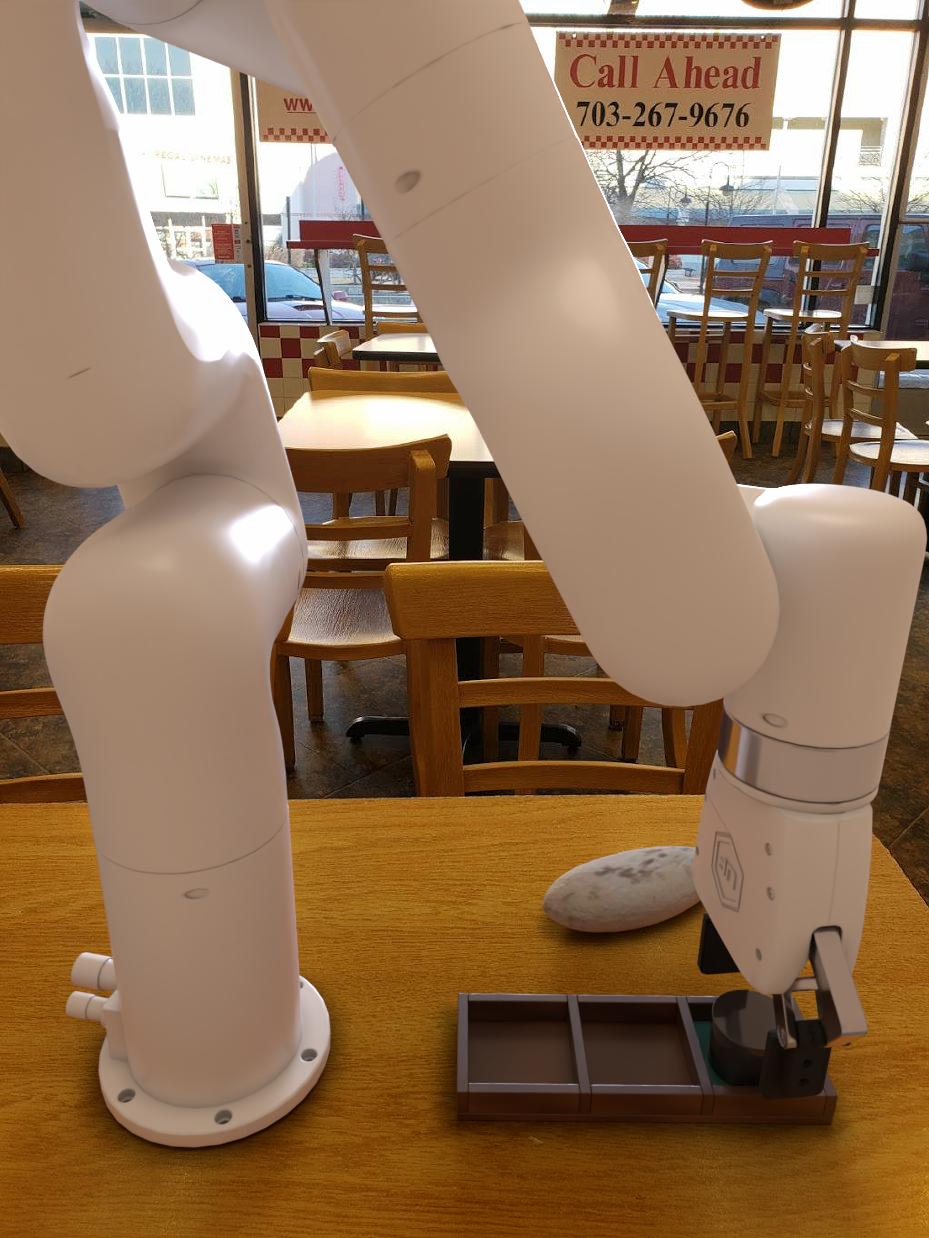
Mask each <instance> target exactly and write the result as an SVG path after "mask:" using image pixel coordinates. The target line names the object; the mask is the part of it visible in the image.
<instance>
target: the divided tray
mask: <svg viewBox="0 0 929 1238" xmlns="http://www.w3.org/2000/svg"><path fill="white" fill-rule="evenodd" d="M719 996H720V995H719ZM719 996H718V995H716V996H715V995H714V996H713V995H702V996H701V995H686V996H685V995H633V994H632V995H628V994H627V995H624V994H549V993H548V994H547V993H546V994H543V993H541V994H538V993H533V994H531V993H467V992H466V993H460V992H459V993H458V994H457V1022H456V1023H457V1025H456V1026H457V1027H456V1028H457V1030H456V1031H457V1035H456V1037H457V1039H456V1107H455V1108H456V1113H455V1114H456V1115H455V1116H456V1117H455V1119H456V1121H511V1122H514V1121H523V1122H525V1121H527V1122H601V1123H602V1122H603V1123H604V1122H605V1123H606V1122H607V1123H609V1122H611V1123H612V1122H613V1123H622V1122H623V1123H689V1124H690V1123H692V1124H693V1123H697V1124H699V1123H700V1124H702V1123H704V1124H710V1123H711V1124H781V1125H782V1124H784V1125H785V1124H786V1125H789V1124H794V1125H795V1124H796V1125H833V1122H834V1117H835V1112H836V1108H837V1103H838V1098H839V1095H838V1092H837V1090H836V1088H835V1086H834V1084H833V1082H832V1079H831V1077H830V1075H829V1072H828V1071H827V1074H826V1079H825V1084H824V1089H823V1091H822V1092H821V1093H820V1094H818V1095H815V1096H807V1097H800V1098H784V1099H773V1100H766V1099H764V1098H763V1096H762V1094H761V1092H760V1090H759V1086H731V1085H729V1084H728V1083H726V1082H725V1081H723V1080H722V1079H721V1078H720V1077H719V1076H718V1075H717V1074H716V1073H715V1072H714V1071H713V1069H712V1068H711V1066H710V1064H709V1062H708V1059H707V1054H706V1050H707V1042H708V1035H709V1027H710V1020H711V1013H712V1007H713V1004H714V1002H715V1001H716V999H717V998H718V997H719ZM771 997H772V996H771ZM772 998H773V997H772ZM793 1003H794V1011H795V1019H796V1020H805V1018H804V1016H803V1014H802V1011H801V1009H800V1006H799V1004H798V1002H797V1000H796V998H795V996H793Z"/></svg>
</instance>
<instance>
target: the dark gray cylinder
mask: <svg viewBox="0 0 929 1238" xmlns="http://www.w3.org/2000/svg"><path fill="white" fill-rule="evenodd" d="M773 1029H776V1021H775V1013H774V1005H773V998H772V996H770V995H763V994H761V993H759V992H758V991H756V990H752V989H733V990H729V991H726V992H724V993H722V994H720V995H719V997H718V998H717V999H716V1001H715V1002H714V1004H713V1007H712V1013H711V1020H710V1027H709V1035H708V1042H707V1050H706V1054H707V1059H708V1062H709V1064H710V1066H711V1068H712V1069H713V1071H714V1072H715V1073H716V1074H717V1075H718V1076H719V1077H720V1078H721V1079H722V1080H723V1081H725V1082H726V1083H728V1084H729V1085H731V1086H759V1081H760V1075H761V1069H762V1063H763V1057H764V1051H765V1045H766V1039H767V1033H768V1031H771V1030H773Z"/></svg>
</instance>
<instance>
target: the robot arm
mask: <svg viewBox="0 0 929 1238" xmlns="http://www.w3.org/2000/svg"><path fill="white" fill-rule="evenodd" d="M80 2H81V3H82V4H84V5H86V6H88V7H90V8H91V9H93V10H94V11H96V12H98V13H99V14H101V15H103V16H105V17H107V18H109V19H111V20H113V21H114V22H116V23H118V24H121V25H122V26H124V27H126V28H128V29H131V30H133V31H136V32H138V33H139V34H140V33H141V34H142V35H145V36H147V37H150V38H152V39H155V40H157V41H160V42H163V43H166V44H167V45H171V46H173V47H175V48H178V49H180V50H183V51H185V52H188V53H191V54H193V55H196V56H199V57H201V58H204V59H207V60H209V61H212V62H214V63H216V64H219V65H222V66H224V67H227V68H229V69H231V70H234V71H237V72H239V73H242V74H244V75H247V76H249V77H251V78H255V79H256V80H259V81H262V82H264V83H267V84H270V85H272V86H273V87H274V86H275V87H277V88H279V89H282V90H284V91H287V92H288V93H292V94H295V95H298V96H300V97H303V98H306V99H308V100H309V102H310V104H311V106H312V108H313V110H314V111H315V114H316V115H317V117H318V119H319V121H320V123H321V125H322V127H323V129H324V131H325V132H326V135H327V137H328V139H329V141H330V142H331V144H332V146H333V148H335V150H336V152H337V154H338V156H339V158H340V159H341V161H342V164H343V166H344V167H345V170H346V171H347V173H348V175H349V177H350V179H351V181H352V183H353V185H354V187H355V189H356V190H357V192H358V195H359V196H360V199H361V200H362V202H363V204H364V206H365V208H366V210H367V212H368V214H369V216H370V217H371V219H372V222H373V224H374V226H375V227H376V230H377V231H378V233H379V235H380V238H381V239H382V241H383V243H384V245H385V249H386V251H387V253H388V255H389V258H390V259H391V261H392V262H393V263H392V264H393V265H394V267H395V269H396V271H397V273H398V275H399V276H400V278H401V280H402V282H403V284H404V286H405V288H406V290H407V292H408V294H409V297H410V299H411V301H412V303H413V304H414V307H415V309H416V311H417V312H418V314H419V316H420V318H421V320H422V322H423V325H424V326H425V329H426V330H427V332H428V334H429V337H430V339H431V341H432V345H433V346H434V348H435V351H436V354H437V356H438V358H439V361H440V363H441V365H442V367H443V369H444V371H445V373H446V374H447V376H448V378H449V379H450V381H451V383H452V385H453V386H454V389H455V390H456V392H457V393H458V395H459V397H460V398H461V400H462V402H463V403H464V405H465V407H466V409H467V411H468V412H469V414H470V416H471V418H472V419H473V422H474V424H475V425H476V428H477V429H478V431H479V433H480V435H481V438H482V440H483V441H484V444H485V446H486V448H487V450H488V453H489V454H490V456H491V458H492V460H493V463H494V465H495V466H496V468H497V471H498V473H499V475H500V477H501V480H502V481H503V483H504V485H505V488H506V490H507V492H508V494H509V496H510V498H511V500H512V502H513V504H514V507H515V508H516V510H517V513H518V515H519V517H520V519H521V521H522V523H523V525H524V527H525V529H526V531H527V533H528V534H529V537H530V539H531V540H532V543H533V545H534V546H535V548H536V550H537V553H538V555H539V556H540V559H541V561H542V562H543V564H544V566H545V567H546V570H547V572H548V574H549V576H550V577H551V579H552V582H553V584H554V585H555V588H556V589H557V591H558V593H559V595H560V597H561V599H562V601H563V603H564V605H565V606H566V608H567V611H568V612H569V615H570V616H571V618H572V620H573V622H574V624H575V626H576V628H577V631H578V632H579V634H580V636H581V637H582V640H583V641H584V643H585V645H586V647H587V649H588V650H589V652H590V653H591V655H592V657H593V659H594V661H595V662H596V663H597V664H598V666H599V667H600V668H601V670H602V671H604V672H605V674H606V675H607V676H608V677H609V678H610V679H611V680H612V681H613V682H614V683H615V684H617V685H618V686H619V687H621V688H622V689H624V690H625V691H626V692H628V693H630V694H631V695H633V696H635V697H638V698H640V699H642V700H644V701H647V702H650V703H653V704H657V705H662V706H665V707H666V706H667V707H669V706H670V707H681V708H682V707H684V708H686V707H693V706H701V705H702V706H703V705H706V704H709V703H712V702H716V701H719V700H722V699H723V700H722V709H721V717H720V725H719V732H718V742H717V748H716V751H715V754H714V758H713V761H712V764H711V768H710V770H709V771H710V772H709V775H708V779H707V783H706V787H705V793H704V797H703V802H702V807H701V812H700V818H699V823H698V830H697V833H696V834H697V836H696V842H695V846H694V847H695V853H694V860H693V868H692V877H693V882H694V886H695V889H696V891H697V893H698V896H699V898H700V901H701V904H702V906H703V907H704V909H705V911H706V912H704V913H703V915H702V921H701V923H702V924H701V930H700V938H699V945H698V952H697V953H698V954H697V961H696V966H697V967H698V969H699V972H700V973H701V974H703V975H706V976H710V975H720V974H721V975H723V974H737V973H741V975H742V977H743V978H744V979H745V981H746V982H747V983H748V984H749V986H751V987H752V988H753V989H754V991H757V992H759V993H761V994H763V995H768V996H770V995H771V997H773V1005H774V1013H775V1021H776V1029H773V1030H771V1031H768V1033H767V1039H766V1045H765V1051H764V1057H763V1063H762V1069H761V1075H760V1081H759V1090H760V1092H761V1094H762V1096H763V1098H764V1099H766V1100H773V1099H784V1098H800V1097H807V1096H815V1095H818V1094H820V1093H821V1092H822V1091H823V1089H824V1084H825V1079H826V1074H827V1072H828V1068H829V1064H830V1058H831V1054H832V1049H833V1048H838V1047H839V1048H840V1047H849V1046H851V1044H852V1043H853V1042H855V1041H858V1040H859V1039H861V1038H863V1037H865V1036H867V1034H868V1031H869V1027H868V1026H869V1025H868V1022H867V1018H866V1015H865V1011H864V1009H863V1005H862V1002H861V999H860V996H859V993H858V990H857V987H856V984H855V981H854V977H853V973H854V969H855V967H856V964H857V963H856V962H857V960H858V955H859V951H860V947H861V942H862V936H863V931H864V930H863V929H864V924H865V918H866V917H865V916H866V910H867V901H868V892H869V885H870V874H871V863H872V845H873V807H872V805H871V802H872V801H874V799H875V798H876V796H877V795H878V792H879V787H880V782H881V778H882V773H883V767H884V764H885V758H886V753H887V747H888V742H889V737H890V733H891V727H892V721H893V715H894V711H895V705H896V700H897V697H898V696H897V695H898V689H899V686H900V680H901V675H902V671H903V665H904V660H905V656H906V651H907V647H908V642H909V641H908V640H909V636H910V630H911V626H912V621H913V616H914V611H915V607H916V606H915V605H916V602H917V596H918V593H919V592H918V590H919V585H920V581H921V577H922V571H923V566H924V562H925V557H926V548H927V542H928V535H927V527H926V523H925V520H924V518H923V516H922V514H921V513H920V511H918V509H917V508H915V507H914V505H912V504H911V503H909V502H908V501H906V500H904V499H902V498H899V497H897V496H896V495H895V496H894V495H892V494H890V493H886V492H883V491H879V490H875V489H870V488H865V487H860V486H859V487H858V486H851V485H843V484H828V483H801V484H792V485H785V486H781V487H778V488H769V487H768V488H767V487H761V486H760V487H759V486H752V485H745V484H738V483H737V481H736V479H735V476H734V475H733V472H732V470H731V467H730V465H729V463H728V460H727V458H726V456H725V454H724V451H723V449H722V447H721V445H720V442H719V439H718V438H717V436H716V434H715V432H714V429H713V427H712V425H711V423H710V420H709V419H708V416H707V414H706V412H705V409H704V407H703V405H702V403H701V401H700V399H699V397H698V394H697V393H696V391H695V388H694V386H693V384H692V382H691V380H690V378H689V376H688V374H687V372H686V370H685V368H684V366H683V364H682V362H681V360H680V357H679V355H678V354H677V352H676V350H675V348H674V346H673V344H672V341H671V340H670V338H669V336H668V334H667V331H666V329H665V327H664V325H663V324H662V323H663V322H662V321H661V319H660V316H659V315H658V312H657V311H656V308H655V306H654V304H653V302H652V299H651V296H650V295H649V292H648V289H647V287H646V284H645V282H644V278H643V275H642V274H641V271H640V270H639V266H638V265H637V263H636V261H635V258H634V256H633V254H632V252H631V250H630V248H629V245H628V244H627V242H626V240H625V238H624V236H623V234H622V233H621V230H620V228H619V226H618V224H617V221H616V219H615V216H614V214H613V211H612V210H611V208H610V206H609V203H608V201H607V198H606V197H605V194H604V192H603V190H602V188H601V186H600V184H599V181H598V180H597V177H596V175H595V173H594V170H593V168H592V166H591V163H590V162H589V159H588V157H587V154H586V152H585V150H584V147H583V145H582V142H581V140H580V138H579V136H578V134H577V132H576V130H575V127H574V124H573V123H572V120H571V117H570V116H569V113H568V111H567V109H566V107H565V104H564V102H563V100H562V97H561V95H560V92H559V90H558V88H557V85H556V83H555V81H554V79H553V76H552V74H551V71H550V70H549V67H548V65H547V63H546V60H545V57H544V56H543V53H542V51H541V48H540V46H539V43H538V41H537V39H536V37H535V34H534V32H533V30H532V27H531V26H530V22H529V20H528V17H527V15H526V14H525V11H524V9H523V6H522V4H521V2H520V0H0V434H1V436H2V437H3V440H5V441H6V443H7V444H8V446H9V447H10V449H11V450H12V452H13V453H14V454H15V455H16V457H17V458H18V459H19V460H21V461H22V462H23V463H25V464H26V465H27V466H28V467H29V468H30V469H32V470H33V471H34V472H35V473H37V474H38V475H40V476H42V477H44V478H46V479H48V480H50V481H52V482H55V483H57V484H59V485H64V486H67V487H73V488H80V489H105V488H110V487H115V486H117V489H118V492H119V494H120V497H121V500H122V502H123V503H122V504H123V505H124V508H125V510H124V511H122V512H121V513H119V514H118V515H117V516H115V517H114V518H112V519H110V521H108V522H106V523H105V524H104V525H102V526H100V527H99V528H98V529H96V530H95V531H94V532H93V533H92V534H91V535H90V536H88V537H87V538H85V540H84V541H83V542H82V543H81V544H80V545H79V546H78V547H77V548H76V549H75V550H74V551H73V553H72V554H71V555H70V556H69V557H68V559H67V560H66V561H65V563H64V564H63V566H62V567H61V569H60V571H59V573H58V575H57V576H56V578H55V579H54V582H53V584H52V586H51V589H50V591H49V594H48V597H47V601H46V604H45V608H44V613H43V620H42V621H43V622H42V624H43V625H42V643H43V651H44V656H45V663H46V665H47V669H48V674H49V676H50V677H49V678H50V680H51V682H52V685H53V687H54V690H55V694H56V695H57V698H58V701H59V703H60V707H61V709H62V711H63V714H64V717H65V719H66V721H67V724H68V727H69V730H70V733H71V736H72V739H73V743H74V747H75V750H76V753H77V757H78V761H79V764H80V765H79V766H80V770H81V775H82V779H83V780H82V781H83V784H84V790H85V795H86V801H87V807H88V814H89V820H90V826H91V832H92V839H93V842H94V847H95V854H96V859H97V867H98V872H99V879H100V885H101V892H102V899H103V906H104V911H105V919H106V925H107V932H108V938H109V944H110V950H111V951H110V952H111V956H109V955H103V954H98V953H92V952H86V951H85V952H81V953H80V954H79V955H78V956H77V957H76V959H75V961H74V963H73V964H72V968H71V972H70V982H71V984H72V986H74V987H77V988H78V987H79V988H84V989H89V990H94V991H100V992H105V991H108V992H113V993H112V994H111V995H110V996H109V997H104V996H99V995H98V994H96V993H95V994H94V993H89V992H85V991H79V990H75V991H73V992H72V993H70V995H69V997H68V999H67V1001H66V1005H65V1014H66V1016H67V1017H69V1018H70V1017H71V1018H74V1019H75V1018H76V1019H80V1020H84V1021H85V1020H86V1021H97V1022H100V1024H101V1027H103V1028H104V1029H105V1032H106V1034H105V1037H104V1040H103V1043H102V1046H101V1049H100V1052H99V1059H98V1060H99V1061H98V1078H99V1084H100V1090H101V1094H102V1097H103V1099H104V1102H105V1105H106V1108H107V1110H109V1112H110V1113H111V1114H112V1116H113V1117H114V1119H115V1120H116V1121H117V1122H118V1123H119V1124H120V1125H121V1126H123V1127H124V1128H125V1129H126V1130H128V1131H129V1132H130V1133H132V1134H133V1135H135V1136H138V1137H140V1138H142V1139H144V1140H147V1141H149V1142H152V1143H156V1144H160V1145H164V1146H169V1147H178V1148H179V1147H180V1148H203V1147H209V1146H218V1145H222V1144H226V1143H230V1142H233V1141H238V1140H240V1139H244V1138H246V1137H248V1136H251V1135H253V1134H255V1133H257V1132H259V1131H261V1130H264V1129H267V1128H269V1126H271V1125H272V1124H274V1123H275V1122H277V1121H279V1120H280V1119H282V1118H283V1117H285V1116H286V1115H288V1114H289V1113H290V1112H291V1111H292V1110H293V1109H295V1108H296V1106H298V1105H299V1104H300V1103H301V1102H302V1101H303V1100H304V1099H305V1098H306V1097H307V1095H308V1094H309V1093H310V1092H311V1090H312V1089H313V1088H314V1087H315V1086H316V1084H317V1083H318V1081H319V1079H320V1077H321V1075H322V1073H323V1071H324V1070H325V1067H326V1066H327V1065H326V1064H327V1061H328V1057H329V1054H330V1050H331V1025H330V1024H331V1021H330V1013H329V1011H328V1009H327V1005H326V1003H325V1000H324V998H323V997H322V996H321V994H320V993H319V991H318V990H317V988H316V987H315V986H314V985H313V984H311V982H309V980H307V979H306V978H305V977H303V976H302V975H300V962H299V948H298V947H299V946H298V929H297V914H296V901H295V900H296V899H295V883H294V869H293V853H292V837H291V836H292V835H291V824H290V822H291V821H290V808H289V807H290V806H289V801H288V788H287V772H286V764H285V757H284V755H285V753H284V747H283V739H282V735H281V729H280V725H279V720H278V715H277V712H276V709H275V704H274V699H273V694H272V686H271V685H272V684H271V657H272V651H273V646H274V643H275V640H276V639H277V637H278V636H279V634H280V632H281V630H282V628H283V626H284V623H285V620H286V618H287V616H288V615H289V613H290V611H291V610H292V607H294V605H295V602H296V600H297V599H298V597H299V594H300V593H301V591H302V588H303V585H304V582H305V579H306V574H307V569H308V563H309V544H308V536H307V530H306V524H305V519H304V516H303V511H302V507H301V504H300V499H299V495H298V492H297V488H296V485H295V480H294V478H293V475H292V471H291V466H290V463H289V459H288V455H287V452H286V447H285V444H284V441H283V438H282V433H281V430H280V426H279V423H278V420H277V414H276V411H275V407H274V405H273V401H272V397H271V393H270V389H269V386H268V382H267V378H266V376H265V372H264V368H263V364H262V362H261V361H262V360H261V358H260V355H259V351H258V348H257V347H256V344H255V341H254V339H253V336H252V334H251V332H250V330H249V327H248V326H247V323H246V321H245V319H244V318H243V316H242V314H241V312H240V311H239V309H238V307H237V306H236V305H235V304H234V302H233V300H231V298H230V297H229V296H228V294H227V293H226V292H225V291H224V290H223V289H222V288H221V287H220V286H219V285H218V284H217V283H216V282H215V281H213V280H212V279H211V278H209V276H207V275H206V274H205V273H203V272H202V271H200V270H198V269H197V268H195V267H193V266H191V265H188V264H186V263H184V262H181V261H180V260H177V259H173V258H171V257H168V256H167V257H166V255H165V253H164V250H163V247H162V245H161V242H160V239H159V237H158V233H157V231H156V228H155V225H154V221H153V219H152V215H151V213H150V209H149V206H148V203H147V200H146V197H145V194H144V191H143V187H142V184H141V181H140V176H139V171H138V168H137V163H136V160H135V155H134V151H133V147H132V144H131V140H130V138H129V134H128V132H127V130H126V125H125V123H124V121H123V118H122V116H121V113H120V111H119V108H118V106H117V104H116V101H115V99H114V96H113V94H112V91H111V90H110V87H109V85H108V83H107V81H106V78H105V76H104V74H103V72H102V70H101V68H100V66H99V63H98V60H97V58H96V55H95V54H94V51H93V49H92V46H91V43H90V41H89V38H88V36H87V33H86V32H87V31H86V30H85V27H84V23H83V19H82V15H81V6H80ZM808 960H809V964H810V966H811V969H812V972H811V973H801V972H802V971H803V970H804V968H805V966H806V965H807V963H808ZM809 991H814V994H815V995H814V996H815V1002H816V1009H817V1011H816V1012H817V1017H818V1018H807V1019H805V1018H804V1020H796V1019H795V1011H794V1003H793V997H794V996H793V993H797V992H798V993H799V992H809Z"/></svg>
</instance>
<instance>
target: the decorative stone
mask: <svg viewBox="0 0 929 1238" xmlns="http://www.w3.org/2000/svg"><path fill="white" fill-rule="evenodd" d="M695 847H696V846H693V847H692V846H684V845H666V846H665V845H663V846H662V845H661V846H652V847H651V846H650V847H643V848H635V849H631V850H630V849H629V850H625V851H619V852H618V853H614V854H610V855H607V856H602V857H599V858H596V859H593V860H590V861H588V862H585V863H582V864H580V865H577V866H575V867H574V868H571V869H570V870H568V871H567V872H564V873H563V874H562V875H561V876H559V877H558V878H557V879H555V880H554V881H553V882H552V885H550V887H549V888H548V889H547V891H546V893H545V895H544V897H543V899H542V906H541V907H542V909H543V911H544V913H545V914H546V916H548V917H549V918H550V919H551V920H553V921H554V922H555V923H557V924H559V925H561V926H564V927H566V928H569V929H571V930H574V931H578V932H585V933H616V932H625V931H632V930H637V929H641V928H645V927H650V926H653V925H657V924H659V923H661V922H664V921H666V920H669V919H671V918H674V917H675V916H678V915H680V914H681V913H683V912H685V911H686V910H688V909H691V908H692V907H693V906H695V905H696V904H698V903H699V902H700V901H701V900H700V898H699V896H698V893H697V891H696V889H695V886H694V882H693V877H692V868H693V860H694V853H695Z"/></svg>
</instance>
